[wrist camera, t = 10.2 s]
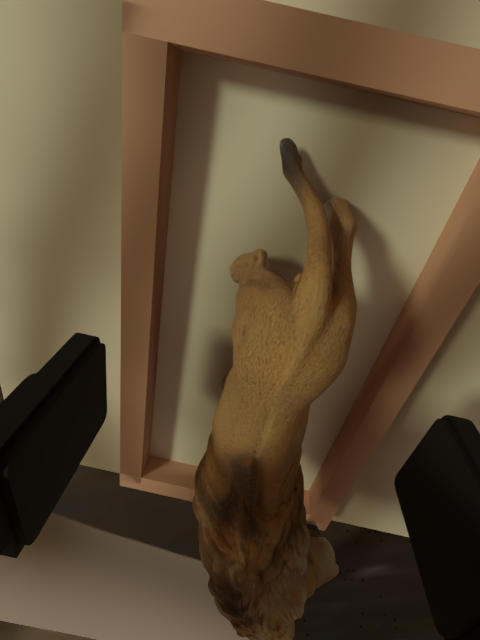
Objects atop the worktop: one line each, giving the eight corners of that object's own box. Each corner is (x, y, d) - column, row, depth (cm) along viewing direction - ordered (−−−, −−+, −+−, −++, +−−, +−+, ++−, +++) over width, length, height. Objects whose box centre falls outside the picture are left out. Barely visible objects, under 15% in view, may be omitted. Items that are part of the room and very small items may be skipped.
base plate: (780, 91, 9) (958, 84, 6) (418, 512, 19) (436, 567, 17) (-68, -101, 9) (-195, -178, 6) (34, 428, 19) (0, 470, 17)
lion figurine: (319, 443, 15) (343, 675, 9) (222, 436, 16) (180, 651, 9) (364, 135, 9) (548, 187, 3) (201, 138, 9) (38, 188, 3)
